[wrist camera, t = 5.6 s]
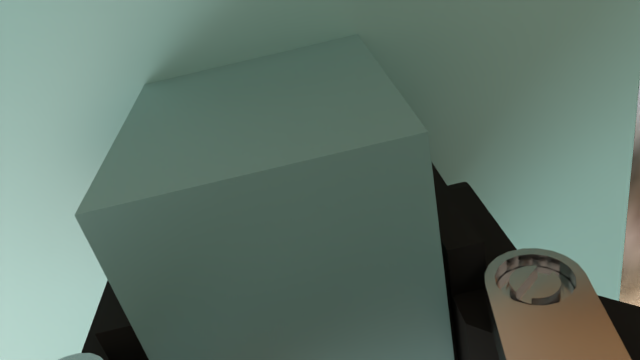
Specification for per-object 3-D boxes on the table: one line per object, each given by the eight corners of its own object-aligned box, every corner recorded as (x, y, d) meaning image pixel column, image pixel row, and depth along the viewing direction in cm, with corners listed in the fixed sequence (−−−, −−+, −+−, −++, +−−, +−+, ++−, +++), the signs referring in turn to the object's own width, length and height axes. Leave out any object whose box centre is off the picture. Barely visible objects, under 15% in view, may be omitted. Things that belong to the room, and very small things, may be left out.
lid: (591, -214, 10) (1034, -343, 4) (572, 294, 17) (746, 514, 11) (-173, -33, 10) (-722, 71, 4) (99, 405, 17) (17, 687, 11)
